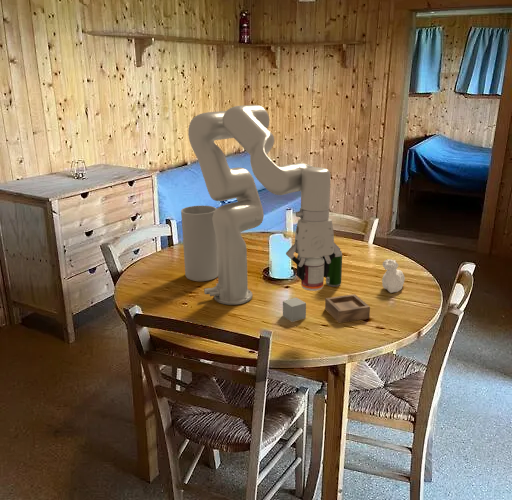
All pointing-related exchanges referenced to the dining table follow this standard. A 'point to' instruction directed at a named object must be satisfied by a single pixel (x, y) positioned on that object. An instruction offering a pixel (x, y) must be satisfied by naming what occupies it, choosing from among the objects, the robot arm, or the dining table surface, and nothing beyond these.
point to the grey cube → (294, 309)
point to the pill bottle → (313, 274)
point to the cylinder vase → (199, 243)
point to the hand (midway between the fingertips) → (312, 276)
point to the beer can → (335, 271)
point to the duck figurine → (392, 276)
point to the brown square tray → (347, 308)
